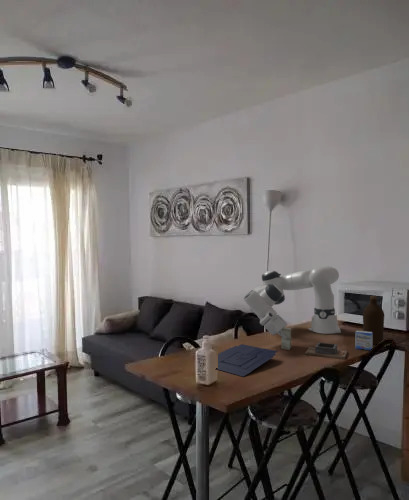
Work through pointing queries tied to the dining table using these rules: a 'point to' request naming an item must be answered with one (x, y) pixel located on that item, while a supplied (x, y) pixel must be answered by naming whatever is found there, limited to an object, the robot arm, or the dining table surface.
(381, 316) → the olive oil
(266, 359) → the dark blue flat slab
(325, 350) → the rack
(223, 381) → the dining table surface
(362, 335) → the medicine box
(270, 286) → the robot arm
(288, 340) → the peg block
